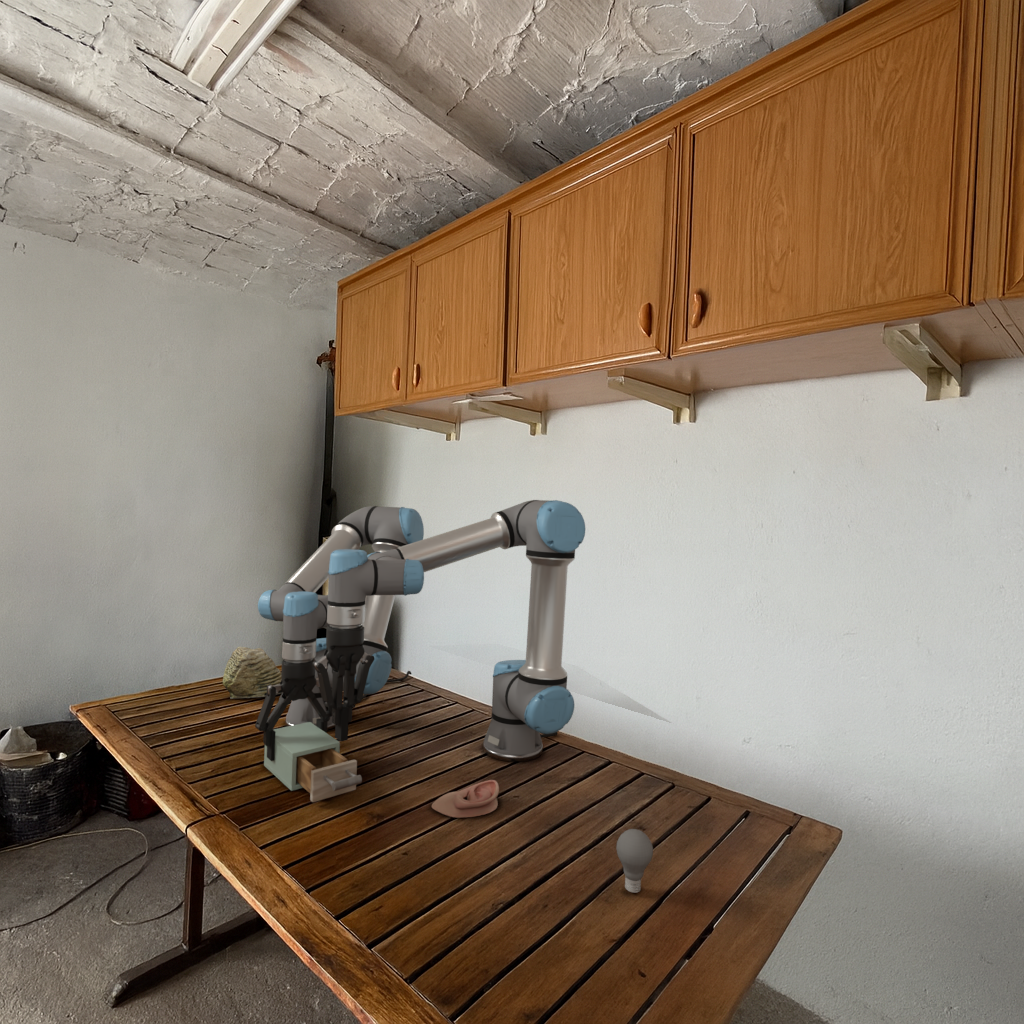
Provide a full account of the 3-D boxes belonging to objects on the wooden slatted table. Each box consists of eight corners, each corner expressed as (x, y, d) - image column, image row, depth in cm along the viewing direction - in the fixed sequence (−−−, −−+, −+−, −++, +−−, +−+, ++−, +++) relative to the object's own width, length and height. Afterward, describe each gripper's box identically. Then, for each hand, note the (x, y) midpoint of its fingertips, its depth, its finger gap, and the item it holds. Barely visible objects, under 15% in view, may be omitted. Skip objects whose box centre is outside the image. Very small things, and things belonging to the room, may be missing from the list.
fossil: (218, 695, 195) (220, 647, 195) (278, 685, 208) (279, 640, 207) (228, 703, 189) (230, 653, 188) (289, 692, 201) (290, 645, 201)
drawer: (369, 800, 131) (370, 770, 131) (325, 814, 125) (326, 783, 125) (325, 766, 147) (326, 739, 146) (284, 776, 140) (285, 749, 140)
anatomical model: (427, 794, 128) (444, 771, 139) (426, 813, 128) (443, 788, 139) (490, 803, 125) (503, 779, 137) (489, 823, 126) (502, 797, 137)
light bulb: (610, 879, 108) (613, 822, 108) (644, 879, 109) (647, 822, 109) (619, 902, 102) (622, 840, 102) (655, 901, 103) (658, 840, 103)
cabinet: (338, 777, 143) (339, 742, 143) (291, 791, 136) (292, 753, 136) (308, 754, 155) (310, 721, 155) (263, 765, 148) (265, 731, 148)
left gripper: (253, 669, 137) (249, 770, 137) (352, 655, 152) (349, 746, 153) (241, 662, 142) (238, 759, 143) (338, 649, 158) (335, 737, 158)
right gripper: (323, 631, 123) (319, 751, 123) (382, 625, 132) (378, 737, 132) (307, 624, 129) (303, 739, 129) (365, 618, 137) (361, 726, 138)
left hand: (295, 752), depth 148 cm, fingers closed on cabinet, 11 cm apart
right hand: (341, 738), depth 131 cm, fingers closed
